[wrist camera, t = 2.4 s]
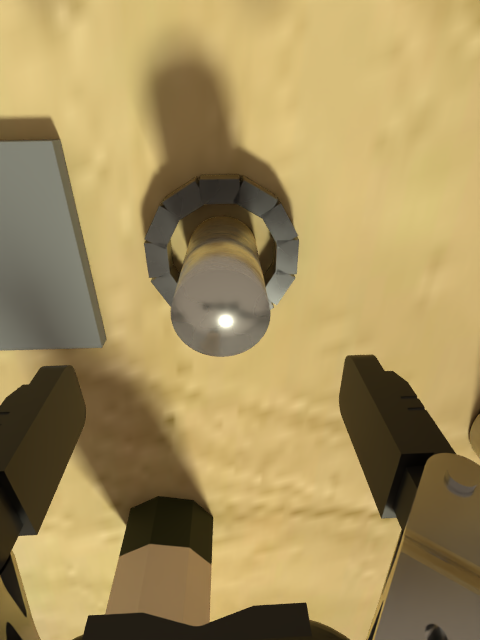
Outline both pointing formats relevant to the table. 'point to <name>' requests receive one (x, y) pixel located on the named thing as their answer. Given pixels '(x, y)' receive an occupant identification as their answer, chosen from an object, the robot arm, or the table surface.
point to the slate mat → (43, 254)
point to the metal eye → (221, 192)
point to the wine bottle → (165, 562)
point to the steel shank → (221, 290)
